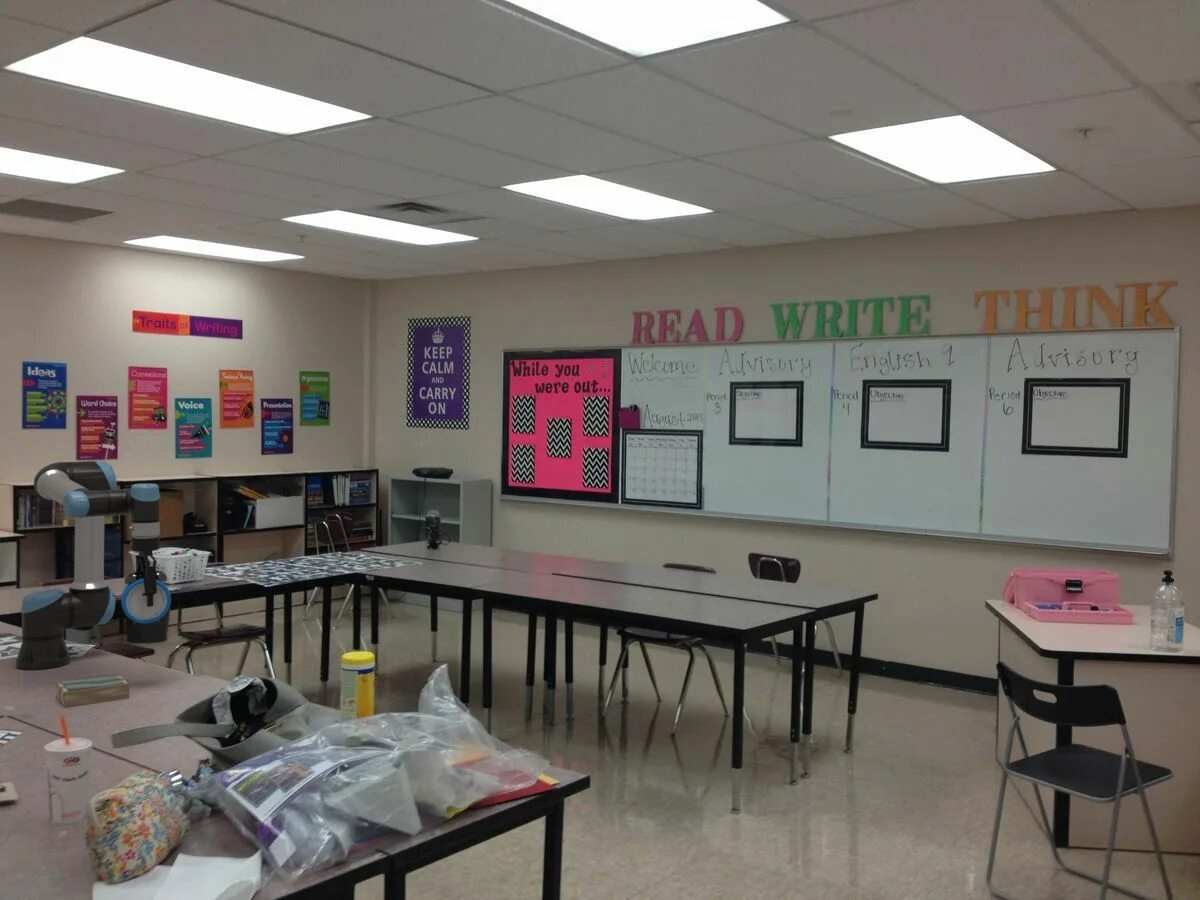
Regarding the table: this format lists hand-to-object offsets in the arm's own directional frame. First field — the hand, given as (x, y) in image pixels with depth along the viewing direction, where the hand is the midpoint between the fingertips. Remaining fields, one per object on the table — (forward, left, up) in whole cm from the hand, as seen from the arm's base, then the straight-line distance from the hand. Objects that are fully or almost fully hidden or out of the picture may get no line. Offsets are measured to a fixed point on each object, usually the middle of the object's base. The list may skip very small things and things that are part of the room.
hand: (146, 615), depth 298 cm
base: (+4, -15, -21) cm, 26 cm away
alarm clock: (0, 0, -2) cm, 2 cm away
